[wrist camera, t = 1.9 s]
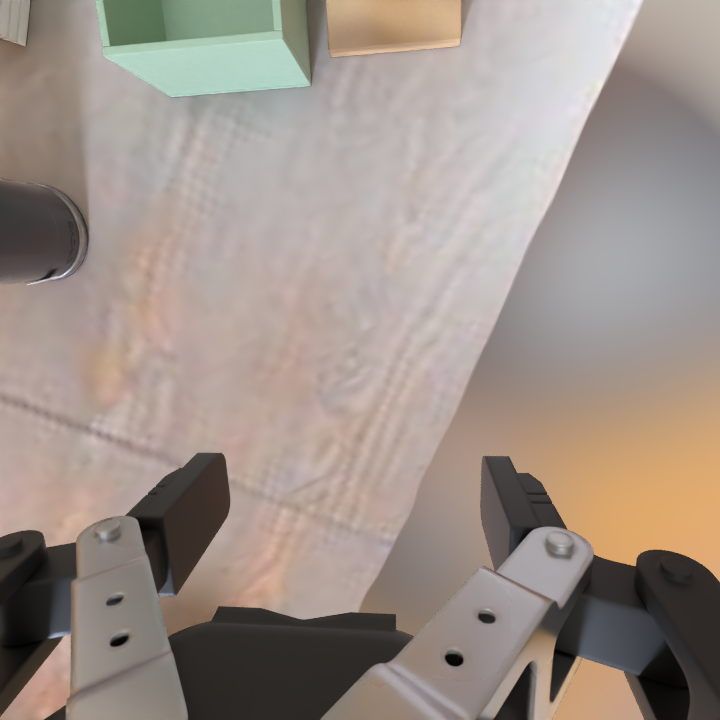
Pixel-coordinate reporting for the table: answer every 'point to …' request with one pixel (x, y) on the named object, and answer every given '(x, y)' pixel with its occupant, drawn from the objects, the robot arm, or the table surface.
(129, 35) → the bin
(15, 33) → the stack of papers
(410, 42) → the stand
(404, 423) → the table surface
